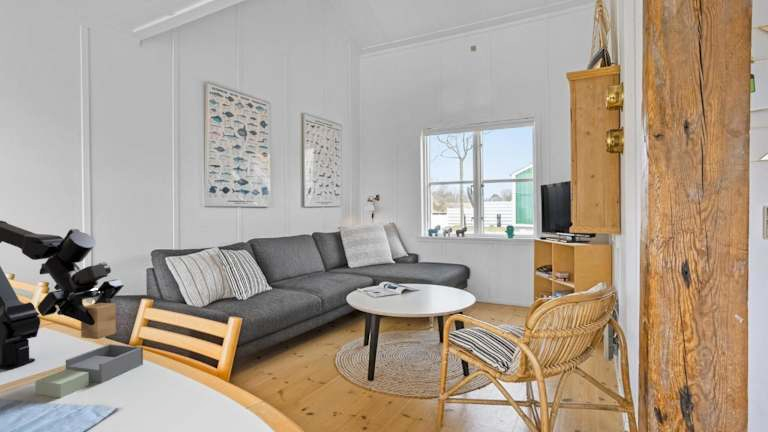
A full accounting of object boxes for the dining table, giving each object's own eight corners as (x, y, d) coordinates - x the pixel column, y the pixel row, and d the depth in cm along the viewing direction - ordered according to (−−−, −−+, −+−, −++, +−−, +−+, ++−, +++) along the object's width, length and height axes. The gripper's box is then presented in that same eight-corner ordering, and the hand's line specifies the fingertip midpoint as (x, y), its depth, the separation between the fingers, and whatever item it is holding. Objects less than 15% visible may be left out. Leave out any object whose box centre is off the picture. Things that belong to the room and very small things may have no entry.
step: (35, 394, 90) (35, 380, 90) (64, 382, 97) (64, 369, 97) (60, 397, 89) (60, 384, 89) (88, 385, 95) (88, 372, 95)
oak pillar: (81, 337, 100) (80, 307, 99) (99, 331, 104) (99, 302, 104) (97, 339, 98) (97, 308, 98) (115, 333, 103) (115, 303, 103)
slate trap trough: (65, 378, 99) (65, 359, 99) (109, 360, 111) (109, 343, 110) (102, 382, 96) (101, 364, 96) (142, 364, 108) (142, 347, 108)
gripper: (46, 257, 93) (86, 308, 90) (117, 249, 111) (151, 292, 109) (20, 290, 95) (58, 341, 92) (94, 277, 113) (127, 319, 111)
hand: (103, 321), depth 101 cm, fingers closed on oak pillar, 5 cm apart
